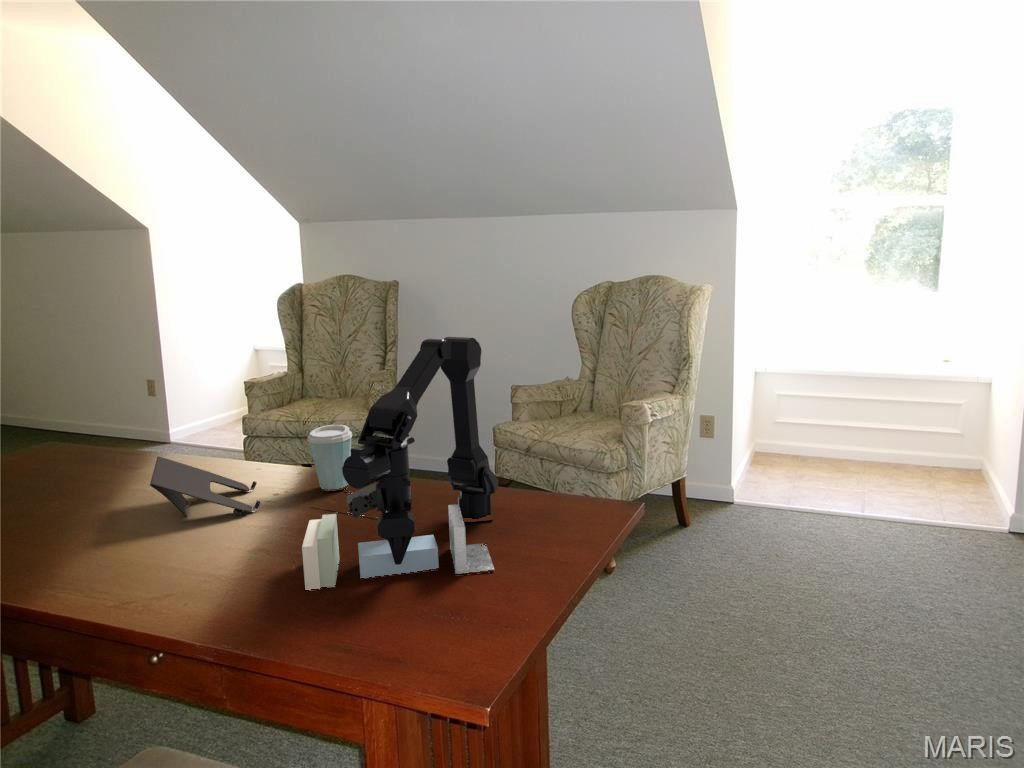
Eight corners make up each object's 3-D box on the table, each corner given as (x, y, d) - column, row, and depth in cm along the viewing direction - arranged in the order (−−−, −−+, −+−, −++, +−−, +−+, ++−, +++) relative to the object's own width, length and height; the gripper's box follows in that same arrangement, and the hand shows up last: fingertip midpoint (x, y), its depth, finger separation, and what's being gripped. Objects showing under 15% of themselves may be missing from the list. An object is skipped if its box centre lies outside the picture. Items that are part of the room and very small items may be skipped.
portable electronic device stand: (245, 544, 166) (261, 506, 166) (137, 514, 157) (154, 474, 157) (241, 511, 187) (256, 478, 187) (145, 483, 178) (161, 447, 178)
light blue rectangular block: (434, 557, 143) (433, 534, 142) (438, 571, 137) (437, 547, 136) (359, 565, 140) (358, 542, 139) (360, 580, 134) (359, 556, 133)
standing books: (339, 557, 143) (336, 512, 141) (335, 588, 130) (331, 538, 129) (312, 560, 142) (309, 515, 141) (305, 590, 130) (301, 541, 128)
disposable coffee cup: (345, 496, 178) (341, 435, 176) (303, 494, 181) (298, 433, 178) (362, 482, 189) (358, 424, 186) (322, 480, 191) (318, 423, 188)
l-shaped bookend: (485, 546, 147) (484, 502, 145) (494, 571, 135) (493, 524, 134) (450, 549, 146) (448, 505, 144) (455, 575, 134) (453, 527, 132)
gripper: (349, 461, 143) (355, 538, 146) (344, 492, 125) (350, 580, 128) (409, 456, 145) (412, 533, 147) (412, 487, 126) (416, 573, 129)
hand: (397, 553), depth 138 cm, fingers open, 9 cm apart
